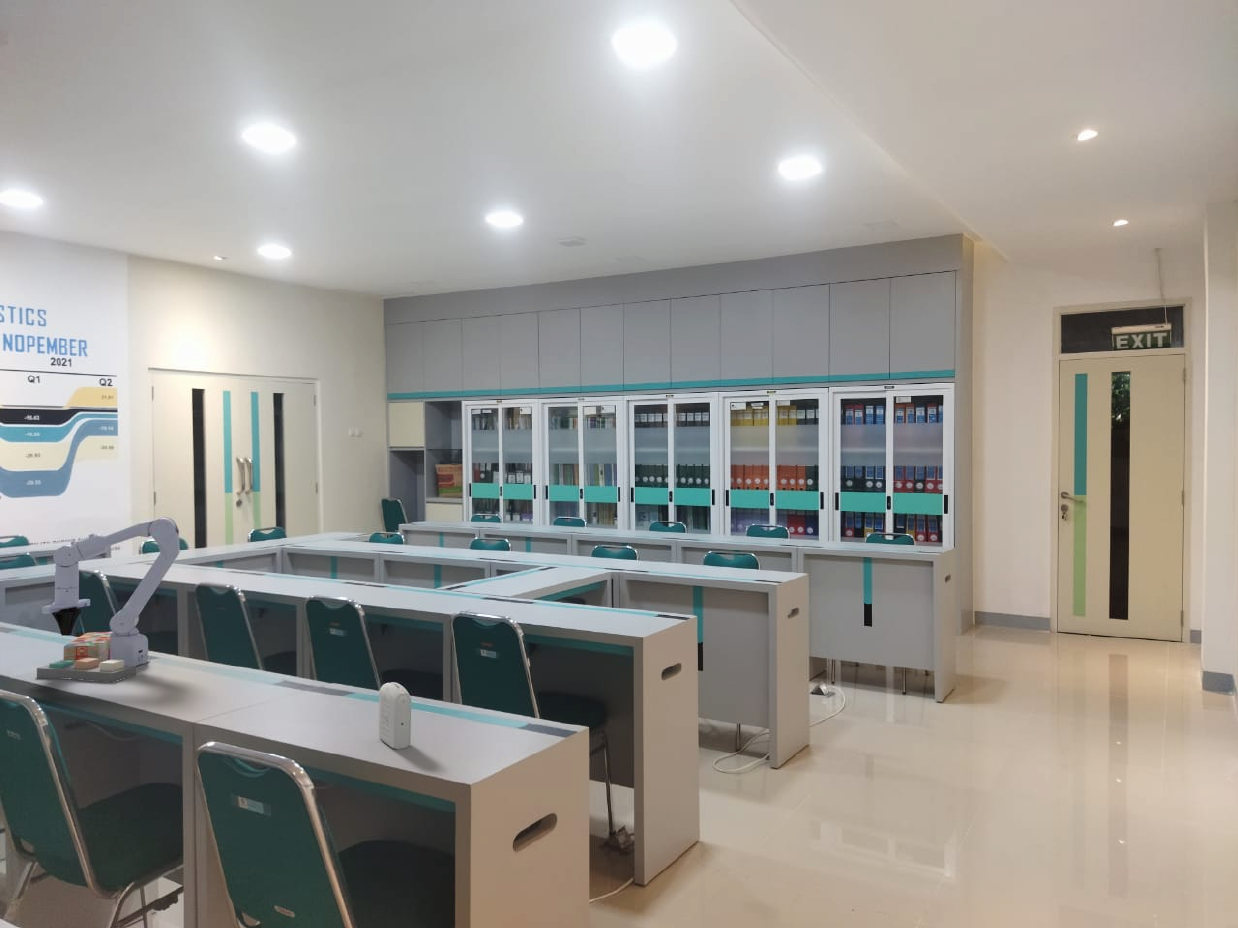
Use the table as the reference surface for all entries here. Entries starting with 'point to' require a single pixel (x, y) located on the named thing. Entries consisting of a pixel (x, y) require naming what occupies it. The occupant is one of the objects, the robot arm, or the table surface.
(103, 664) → the cream button
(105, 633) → the stack of blocks
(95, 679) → the button panel
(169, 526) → the robot arm
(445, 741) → the table surface
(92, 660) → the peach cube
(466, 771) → the table surface
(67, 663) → the teal button
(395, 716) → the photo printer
